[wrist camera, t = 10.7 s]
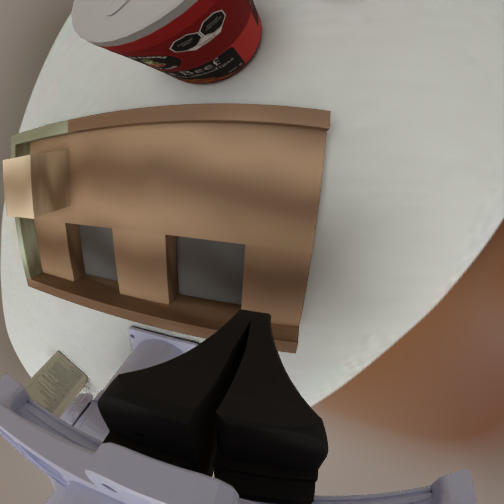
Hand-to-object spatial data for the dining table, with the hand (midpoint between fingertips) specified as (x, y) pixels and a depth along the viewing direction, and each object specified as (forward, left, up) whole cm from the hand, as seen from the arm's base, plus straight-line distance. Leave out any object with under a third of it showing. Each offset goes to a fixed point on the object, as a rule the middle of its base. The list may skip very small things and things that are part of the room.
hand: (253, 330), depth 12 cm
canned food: (+16, +6, -10) cm, 20 cm away
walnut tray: (+2, +12, -10) cm, 15 cm away
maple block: (+5, +20, -8) cm, 22 cm away
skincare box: (-23, +28, -10) cm, 38 cm away
